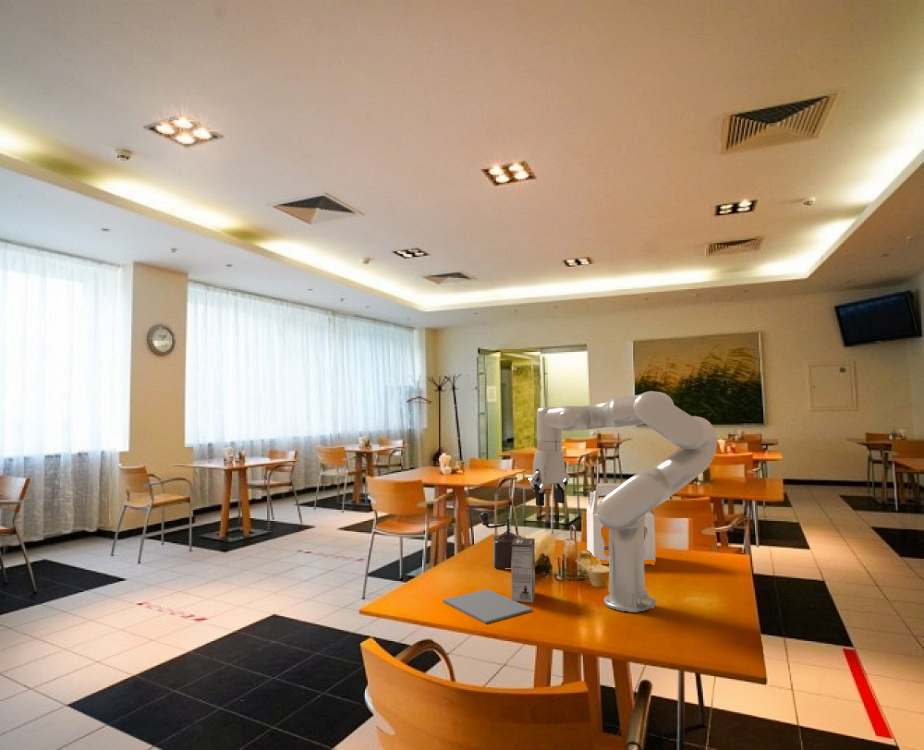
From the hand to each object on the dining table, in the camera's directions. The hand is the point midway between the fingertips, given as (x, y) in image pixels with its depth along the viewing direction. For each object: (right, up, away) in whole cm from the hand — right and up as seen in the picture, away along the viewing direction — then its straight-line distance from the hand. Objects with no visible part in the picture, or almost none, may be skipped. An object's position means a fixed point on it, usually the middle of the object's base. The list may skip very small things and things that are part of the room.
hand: (550, 503), depth 169 cm
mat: (-20, -25, -16) cm, 36 cm away
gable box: (+31, -29, +32) cm, 53 cm away
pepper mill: (-13, -28, +26) cm, 40 cm away
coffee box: (-9, -26, -8) cm, 28 cm away
